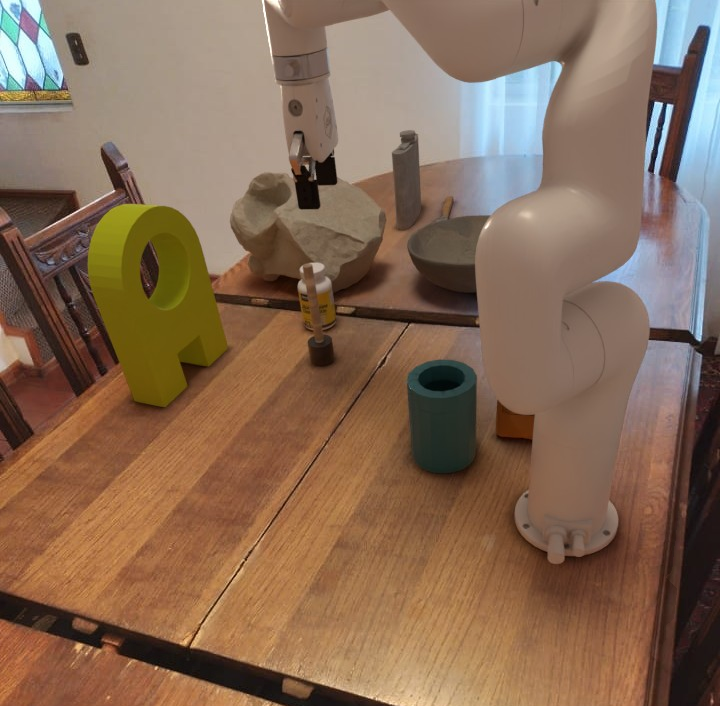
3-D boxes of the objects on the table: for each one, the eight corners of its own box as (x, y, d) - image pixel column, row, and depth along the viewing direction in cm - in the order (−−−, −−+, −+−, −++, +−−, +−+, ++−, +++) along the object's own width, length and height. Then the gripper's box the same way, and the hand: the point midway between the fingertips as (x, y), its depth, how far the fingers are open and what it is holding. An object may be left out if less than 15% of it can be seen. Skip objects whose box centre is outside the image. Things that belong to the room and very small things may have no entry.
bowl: (398, 312, 133) (395, 263, 126) (421, 255, 152) (419, 210, 145) (536, 315, 126) (539, 264, 120) (541, 255, 145) (545, 208, 139)
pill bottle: (297, 329, 132) (287, 273, 124) (314, 313, 136) (305, 258, 128) (326, 334, 129) (317, 277, 122) (342, 318, 133) (335, 262, 126)
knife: (441, 196, 175) (453, 196, 174) (441, 201, 175) (453, 200, 175) (425, 248, 153) (438, 247, 152) (425, 252, 153) (438, 252, 153)
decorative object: (165, 407, 116) (103, 236, 96) (134, 401, 118) (68, 233, 99) (228, 348, 129) (185, 187, 110) (199, 343, 131) (153, 185, 112)
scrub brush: (331, 366, 120) (316, 271, 108) (307, 366, 121) (290, 271, 109) (337, 353, 123) (323, 259, 112) (314, 353, 124) (298, 259, 113)
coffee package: (572, 402, 105) (589, 268, 90) (553, 450, 96) (568, 311, 82) (509, 391, 109) (515, 261, 94) (486, 437, 100) (489, 302, 86)
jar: (472, 475, 94) (472, 399, 86) (407, 471, 97) (401, 396, 88) (478, 434, 101) (479, 360, 93) (417, 431, 103) (413, 358, 95)
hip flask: (410, 205, 176) (405, 122, 163) (425, 205, 175) (422, 121, 162) (395, 230, 164) (389, 142, 152) (411, 230, 163) (407, 141, 150)
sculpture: (346, 285, 167) (248, 200, 158) (414, 210, 147) (307, 109, 139) (306, 347, 150) (195, 255, 142) (378, 272, 130) (253, 161, 122)
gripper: (309, 80, 83) (327, 218, 94) (344, 50, 95) (356, 175, 107) (252, 84, 85) (277, 219, 96) (293, 54, 97) (311, 177, 108)
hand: (319, 196), depth 101 cm, fingers open, 9 cm apart
